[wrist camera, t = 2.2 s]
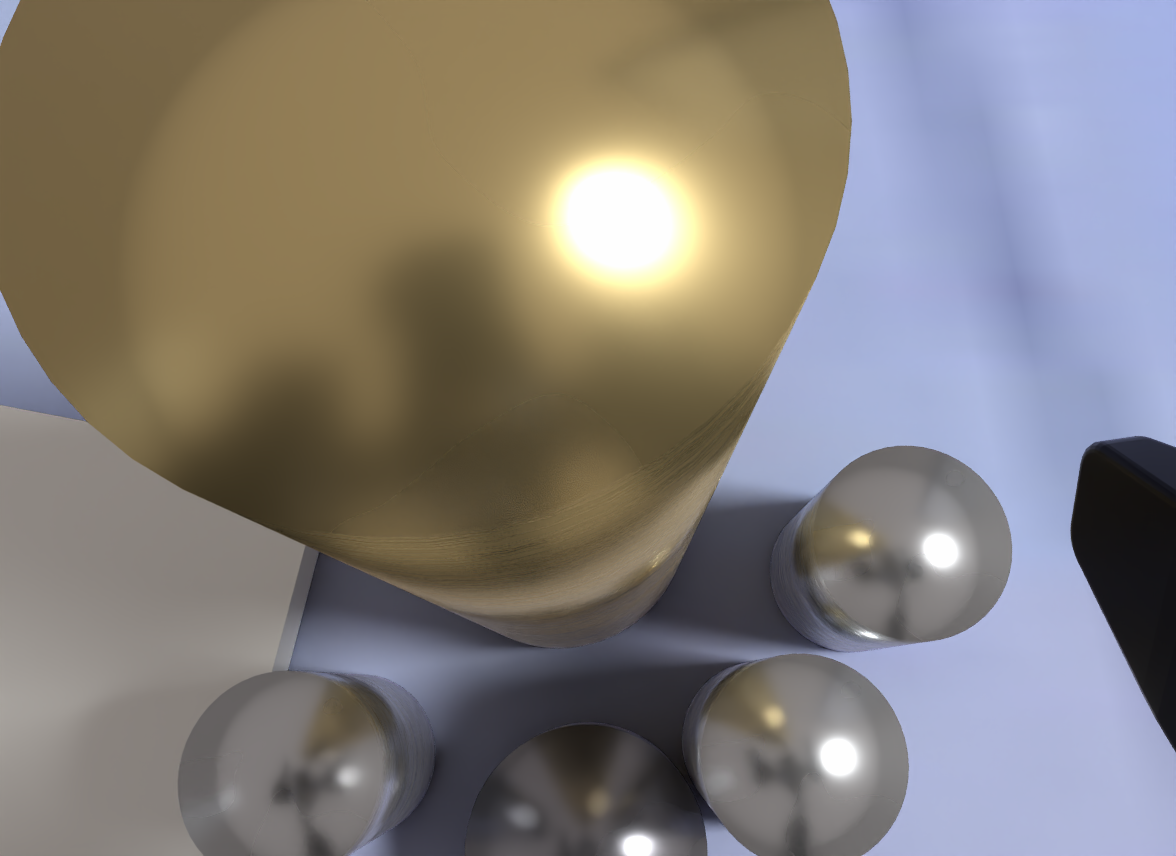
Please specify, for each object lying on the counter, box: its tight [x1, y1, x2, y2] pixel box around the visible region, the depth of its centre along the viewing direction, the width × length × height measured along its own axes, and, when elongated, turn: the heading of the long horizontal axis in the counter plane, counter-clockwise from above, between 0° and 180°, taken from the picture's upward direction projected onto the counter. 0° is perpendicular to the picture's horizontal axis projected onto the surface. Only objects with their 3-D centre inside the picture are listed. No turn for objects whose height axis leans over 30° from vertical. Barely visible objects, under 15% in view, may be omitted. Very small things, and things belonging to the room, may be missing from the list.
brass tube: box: [0, 0, 852, 648], centre depth 11 cm, size 4×4×13 cm
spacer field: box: [178, 446, 1012, 856], centre depth 15 cm, size 8×10×4 cm
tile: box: [0, 405, 319, 856], centre depth 17 cm, size 8×8×1 cm
